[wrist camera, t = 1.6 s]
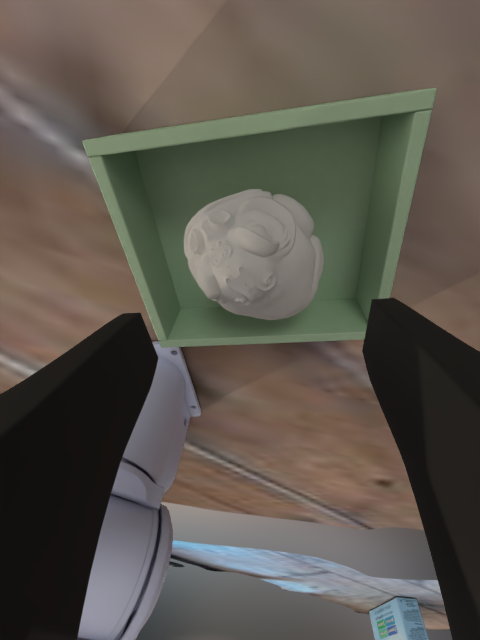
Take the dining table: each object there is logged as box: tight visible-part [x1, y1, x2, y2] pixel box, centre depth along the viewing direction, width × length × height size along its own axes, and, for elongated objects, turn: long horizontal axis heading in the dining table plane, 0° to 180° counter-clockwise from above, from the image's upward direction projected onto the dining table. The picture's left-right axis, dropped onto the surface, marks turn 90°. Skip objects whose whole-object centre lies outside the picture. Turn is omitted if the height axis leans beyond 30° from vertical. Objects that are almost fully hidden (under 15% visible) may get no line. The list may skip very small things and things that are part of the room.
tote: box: [82, 88, 436, 348], centre depth 15 cm, size 11×13×4 cm
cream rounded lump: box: [184, 189, 324, 320], centre depth 14 cm, size 6×7×7 cm
